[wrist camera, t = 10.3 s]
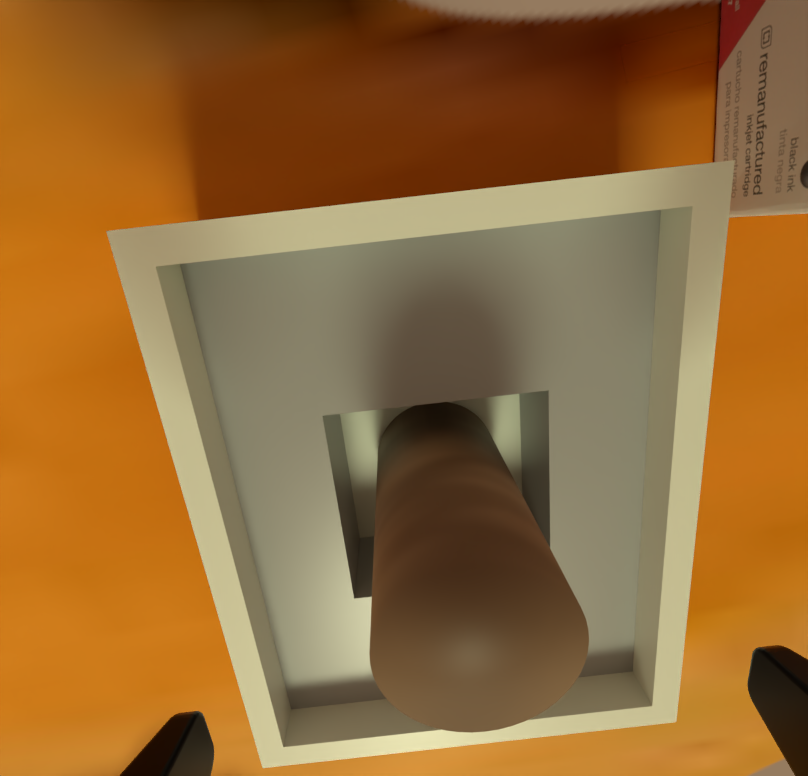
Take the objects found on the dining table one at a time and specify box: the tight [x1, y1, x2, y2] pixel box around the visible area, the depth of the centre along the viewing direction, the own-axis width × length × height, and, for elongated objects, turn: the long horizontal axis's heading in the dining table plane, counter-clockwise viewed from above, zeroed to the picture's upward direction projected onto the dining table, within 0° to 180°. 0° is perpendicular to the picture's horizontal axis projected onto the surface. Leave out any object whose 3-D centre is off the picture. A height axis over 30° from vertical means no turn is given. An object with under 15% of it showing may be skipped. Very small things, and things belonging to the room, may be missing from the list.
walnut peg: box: [369, 402, 589, 733], centre depth 12 cm, size 4×4×8 cm
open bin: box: [107, 160, 735, 768], centre depth 14 cm, size 13×16×5 cm
